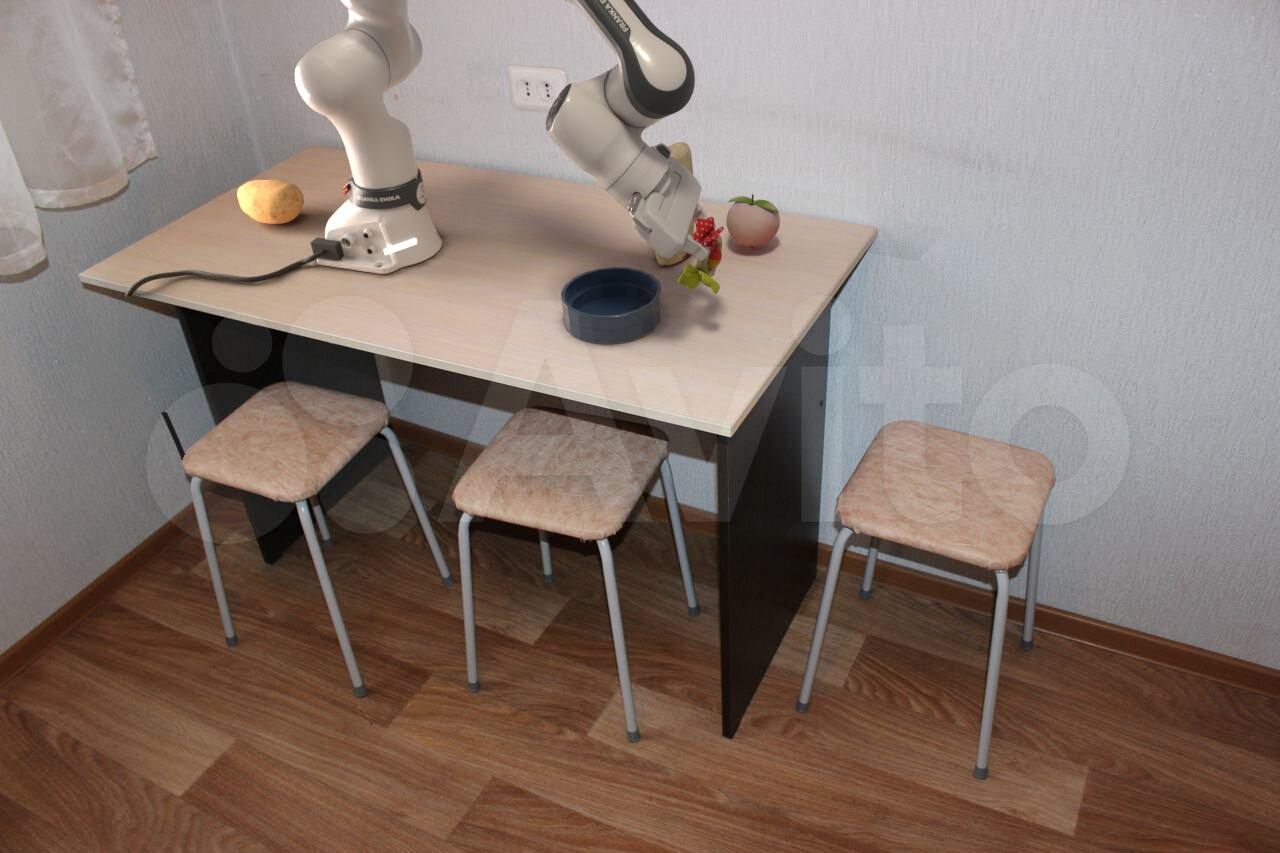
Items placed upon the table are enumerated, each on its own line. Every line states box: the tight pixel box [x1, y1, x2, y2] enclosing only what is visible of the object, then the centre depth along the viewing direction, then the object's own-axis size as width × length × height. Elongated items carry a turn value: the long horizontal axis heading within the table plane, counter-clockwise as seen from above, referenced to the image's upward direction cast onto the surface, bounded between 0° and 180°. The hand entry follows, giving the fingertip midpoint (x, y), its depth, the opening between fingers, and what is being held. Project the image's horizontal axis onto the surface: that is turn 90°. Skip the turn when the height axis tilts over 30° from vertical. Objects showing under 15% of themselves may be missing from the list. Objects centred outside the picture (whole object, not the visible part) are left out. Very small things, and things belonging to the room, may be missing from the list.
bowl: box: [560, 266, 664, 344], centre depth 163 cm, size 16×16×5 cm
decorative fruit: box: [726, 193, 781, 249], centre depth 177 cm, size 9×8×10 cm
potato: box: [236, 179, 305, 225], centre depth 200 cm, size 10×14×8 cm
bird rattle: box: [676, 216, 725, 294], centre depth 155 cm, size 6×11×9 cm
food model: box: [654, 141, 695, 266], centre depth 174 cm, size 10×7×20 cm
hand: (709, 243), depth 154 cm, fingers closed on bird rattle, 6 cm apart
